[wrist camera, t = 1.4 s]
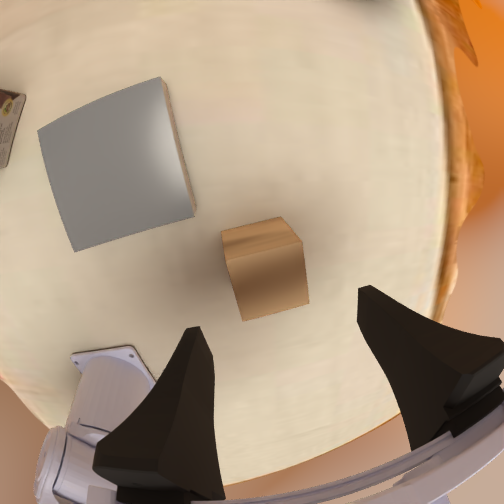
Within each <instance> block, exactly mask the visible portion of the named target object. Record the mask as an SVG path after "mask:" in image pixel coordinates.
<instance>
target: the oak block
mask: <svg viewBox="0 0 504 504" xmlns="http://www.w3.org/2000/svg"><path fill="white" fill-rule="evenodd" d="M221 235H222V242H223V248H224V255H225V261H226V265H227V268H228V272H229V275H230V279H231V283H232V286H233V290H234V293H235V297H236V300H237V304H238V307H239V311H240V314H241V318H242V321H247V320H251V319H255V318H259V317H263V316H266V315H270V314H274V313H278V312H281V311H285V310H289V309H292V308H296V307H299V306H303V305H306V304H309V294H308V285H307V277H306V269H305V261H304V253H303V245H302V241H301V240H300V238H299V237H298V236H297V235H296V234H295V233H294V231H293V230H292V229H291V228H290V227H289V226H288V224H287V223H286V222H285V221H284V220H283V219H282V218H281V217H278V218H273V219H269V220H265V221H261V222H257V223H253V224H249V225H244V226H240V227H236V228H232V229H228V230H224V231H221Z"/></svg>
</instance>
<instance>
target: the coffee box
mask: <svg viewBox="0 0 504 504" xmlns="http://www.w3.org/2000/svg"><path fill="white" fill-rule="evenodd" d="M25 98H26V97H25V95H24V94H21V93H17V92H12V91H7V90H2V89H0V168H4V167H6V166H7V162H8V157H9V153H10V149H11V144H12V141H13V137H14V133H15V130H16V126H17V123H18V120H19V117H20V113H21V110H22V107H23V105H24V102H25Z"/></svg>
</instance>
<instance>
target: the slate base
mask: <svg viewBox="0 0 504 504" xmlns="http://www.w3.org/2000/svg"><path fill="white" fill-rule="evenodd" d="M37 132H38V137H39V142H40V146H41V151H42V155H43V159H44V163H45V167H46V171H47V175H48V178H49V182H50V185H51V189H52V192H53V195H54V198H55V201H56V204H57V207H58V210H59V213H60V216H61V219H62V222H63V224H64V227H65V230H66V232H67V235H68V238H69V240H70V243H71V245H72V248H73V250H74V252H78V251H81V250H84V249H87V248H90V247H93V246H96V245H99V244H103V243H106V242H109V241H112V240H115V239H119V238H122V237H125V236H128V235H132V234H135V233H138V232H142V231H145V230H149V229H152V228H156V227H159V226H163V225H166V224H170V223H174V222H177V221H181V220H185V219H188V218H192V217H195V211H196V204H195V201H194V197H193V193H192V189H191V186H190V182H189V178H188V174H187V170H186V166H185V162H184V158H183V154H182V150H181V146H180V142H179V138H178V134H177V130H176V125H175V121H174V117H173V112H172V108H171V103H170V99H169V94H168V90H167V85H166V83H165V82H164V81H163V79H162V78H161V77H157V78H154V79H151V80H148V81H145V82H142V83H139V84H136V85H133V86H130V87H128V88H125V89H122V90H120V91H117V92H115V93H112V94H110V95H107V96H105V97H102V98H100V99H98V100H96V101H93V102H91V103H89V104H87V105H85V106H82V107H80V108H78V109H76V110H74V111H72V112H70V113H68V114H66V115H64V116H62V117H60V118H59V119H57V120H55V121H53V122H51V123H49V124H48V125H46V126H44V127H42V128H41V129H39V130H37Z"/></svg>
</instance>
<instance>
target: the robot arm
mask: <svg viewBox="0 0 504 504" xmlns="http://www.w3.org/2000/svg"><path fill="white" fill-rule="evenodd" d="M357 323H358V325H359V327H360V330H361V332H362V334H363V337H364V339H365V341H366V342H367V344H368V346H369V347H370V349H371V351H372V353H373V354H374V356H375V358H376V359H377V361H378V363H379V364H380V366H381V368H382V369H383V371H384V373H385V375H386V377H387V379H388V381H389V383H390V385H391V388H392V390H393V393H394V395H395V398H396V400H397V403H398V406H399V408H400V411H401V414H402V417H403V421H404V424H405V427H406V431H407V434H408V439H409V443H410V447H411V452H409V453H407V454H405V455H403V456H401V457H399V458H397V459H394V460H392V461H390V462H387V463H385V464H383V465H380V466H378V467H375V468H372V469H370V470H367V471H364V472H362V473H359V474H356V475H353V476H350V477H347V478H344V479H341V480H338V481H334V482H330V483H327V484H324V485H319V486H315V487H311V488H307V489H303V490H298V491H293V492H288V493H283V494H277V495H271V496H264V497H256V498H247V499H236V500H225V499H226V497H225V493H224V489H223V484H222V479H221V474H220V468H219V462H218V456H217V449H216V441H215V431H214V386H215V373H214V362H213V355H212V353H211V351H210V349H209V347H208V344H207V342H206V340H205V338H204V335H203V333H202V331H201V329H200V326H197V327H192V328H186V330H185V332H184V334H183V336H182V338H181V340H180V342H179V344H178V346H177V347H176V349H175V351H174V353H173V355H172V357H171V359H170V361H169V362H168V364H167V366H166V368H165V369H164V371H163V373H162V374H161V376H160V377H159V379H158V381H157V382H155V380H154V379H153V377H152V376H151V374H150V373H149V371H148V370H147V368H146V367H145V365H144V364H143V362H142V360H141V359H140V357H139V356H138V354H137V352H136V351H135V349H134V348H133V347H131V346H125V347H119V348H112V349H106V350H99V351H92V352H84V353H77V354H72V355H71V356H70V359H71V361H72V362H73V363H74V365H75V366H76V367H77V369H78V370H79V371H80V372H81V374H82V376H81V379H80V382H79V385H78V388H77V391H76V394H75V397H74V400H73V403H72V406H71V409H70V412H69V416H68V419H67V422H66V426H65V428H63V427H61V426H57V427H54V428H51V429H50V430H49V432H48V434H47V436H46V438H45V440H44V443H43V446H42V448H41V451H40V455H39V459H38V463H37V468H36V478H35V482H34V494H35V496H36V501H37V503H38V504H317V503H321V502H324V501H328V500H332V499H335V498H339V497H342V496H345V495H349V494H352V493H355V492H358V491H360V490H363V489H366V488H369V487H371V486H374V485H377V484H379V483H382V482H384V481H386V480H389V479H391V478H393V477H396V476H398V475H400V474H402V473H404V472H406V471H409V470H411V469H413V468H415V467H417V466H418V467H417V468H415V469H413V470H411V471H410V472H408V473H406V474H405V475H404V476H403V478H402V479H401V480H399V481H398V482H396V483H395V484H394V485H393V487H392V488H389V489H387V490H384V491H381V492H379V493H376V494H374V495H371V496H368V497H365V498H362V499H360V500H356V501H354V502H350V503H347V504H450V502H449V499H448V496H447V493H449V492H450V491H452V490H453V489H455V488H456V487H458V486H459V485H461V484H462V483H463V482H465V481H466V480H468V479H469V478H470V477H472V476H473V475H474V474H476V473H477V472H478V471H480V470H481V469H482V468H484V467H485V466H486V465H487V464H488V463H490V462H491V461H492V460H493V459H494V458H496V457H497V456H498V455H499V454H500V453H501V452H502V451H503V450H504V388H503V389H502V388H501V387H500V386H499V385H500V384H501V383H502V381H501V380H500V378H499V375H500V374H501V372H502V370H503V369H504V342H503V341H502V340H501V339H500V338H495V337H487V336H480V335H476V334H471V333H467V332H463V331H460V330H457V329H453V328H450V327H448V326H445V325H442V324H440V323H437V322H435V321H433V320H430V319H428V318H426V317H424V316H422V315H420V314H418V313H416V312H415V311H413V310H411V309H409V308H407V307H406V306H404V305H402V304H400V303H399V302H397V301H396V300H394V299H392V298H391V297H389V296H388V295H386V294H384V293H383V292H381V291H380V290H378V289H376V288H375V287H373V286H371V285H368V286H364V287H361V288H358V310H357ZM131 354H133V355H131ZM424 462H425V463H424ZM422 463H423V464H422ZM419 465H420V466H419Z"/></svg>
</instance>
